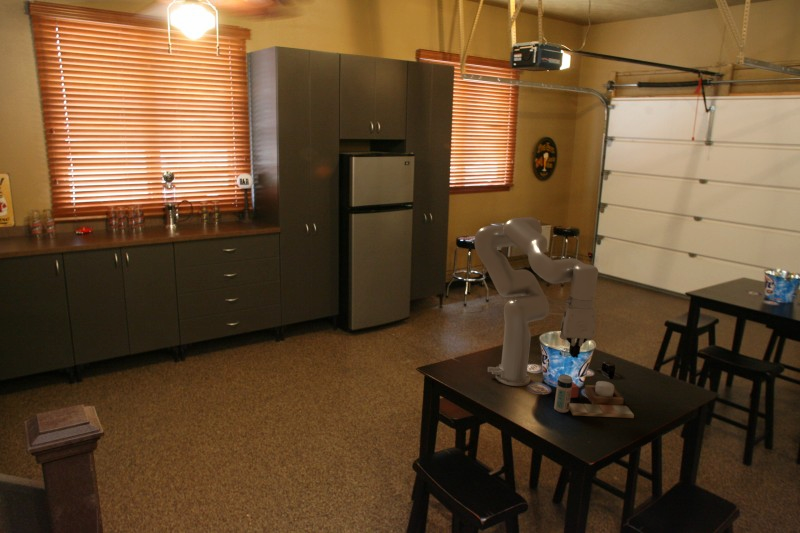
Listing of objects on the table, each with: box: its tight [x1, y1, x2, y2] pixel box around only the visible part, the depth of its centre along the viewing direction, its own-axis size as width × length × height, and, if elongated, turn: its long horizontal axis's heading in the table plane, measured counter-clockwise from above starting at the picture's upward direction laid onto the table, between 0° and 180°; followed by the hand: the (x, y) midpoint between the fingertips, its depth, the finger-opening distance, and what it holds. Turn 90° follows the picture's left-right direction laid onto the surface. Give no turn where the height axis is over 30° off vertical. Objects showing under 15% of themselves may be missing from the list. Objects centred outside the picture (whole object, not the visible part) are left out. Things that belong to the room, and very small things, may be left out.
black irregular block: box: [594, 361, 622, 380], centre depth 227 cm, size 12×7×5 cm, turn 19°
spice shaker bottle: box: [553, 374, 574, 414], centre depth 194 cm, size 5×5×12 cm
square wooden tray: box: [583, 384, 625, 406], centre depth 204 cm, size 10×10×3 cm
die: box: [570, 381, 580, 399], centre depth 206 cm, size 4×4×4 cm
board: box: [569, 402, 635, 419], centre depth 195 cm, size 20×6×1 cm, turn 90°
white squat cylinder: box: [595, 380, 615, 397], centre depth 204 cm, size 6×6×5 cm
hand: (573, 355), depth 192 cm, fingers closed
